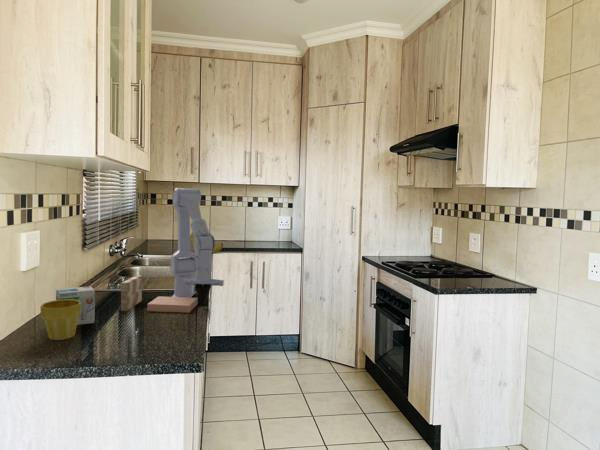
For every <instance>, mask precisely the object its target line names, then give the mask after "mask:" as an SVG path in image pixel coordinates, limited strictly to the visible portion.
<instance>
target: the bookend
mask: <svg viewBox="0 0 600 450" xmlns="http://www.w3.org/2000/svg"><path fill="white" fill-rule="evenodd" d="M120 283H121V284H120V312H127V311H129V310H131V309H133V307H135V306H136V305H138V304H140V303H141V302H143V299H142V298H143V297H142V296H143V276H142V275H140V274H139V275H138V274H137V275H133V277H130V278H128V279H126V280H124V281H122V282H120Z"/></svg>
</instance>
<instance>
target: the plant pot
mask: <svg viewBox="0 0 600 450" xmlns="http://www.w3.org/2000/svg"><path fill="white" fill-rule="evenodd" d="M80 314H81V302H80V301H78V300H72V299H64V300H56V299H55V300H49V301H47V302H44V303H42V304H41V305H40V317H41V319H43V321H44V325H45V328H46V332H47V333H46V334H47V336H48V339H49V340H51V341H62V340H69V339H71V338H74V337H75V334H76V330H77V326H78V325H77V321H78V317H79V315H80Z"/></svg>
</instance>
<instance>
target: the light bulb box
mask: <svg viewBox="0 0 600 450" xmlns="http://www.w3.org/2000/svg"><path fill="white" fill-rule="evenodd" d="M55 290H56V291H55V300H64V299H72V300H78V301H80V302H81V314H80V315H79V317H78V321H77V326H79V325H86V324H87V325H88V324H94V323H95V316H96V315H95V314H96V313H95V311H96V309H95V308H96V304H95V303H96V290H95V289H94V287H92V286H91V285H90V286H80V287H68V288H56V289H55Z"/></svg>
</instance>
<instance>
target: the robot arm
mask: <svg viewBox="0 0 600 450" xmlns="http://www.w3.org/2000/svg"><path fill="white" fill-rule="evenodd" d="M201 200H202V192H201V190H200V189H199V188H181V187H180V188H179V187H176V188H175V189H174V190H173V193H172V207H173V209H174V210H176V212H177V214H176V215H177V251H175V252H174V253H172V255H171V256H170V263H169V268H170V272H171V273H172V274H173V275H174V293H173V295H171V296H170V297H189V298H193V297H192V296H193V295H194V294H195V293H196V294H195V295H197V296H198V298H199V303H200V304H199V305H200V306H206V302H207V298H208V295H209V293H210V290H211V288H212V286H215V287H216V286H217V287H223V286H224V282H225V281H224V279H214V278H212V268H213V267H212V264H213V263H212V260H213V253H212V251H213V250H214V247H215V244H216V241H215V238H214V235H213V234H212V233H211V232H209V228H208V225H207V221H206V220H205V219H204V218H202V213H201V209H200V204H201ZM191 231H192V232H193V236H194V243H193V245H194V247H193V249H194V252H193V251H192V250H191V242H190V235H191V233H192V232H191ZM194 276H195V277H194ZM195 295H194V296H195Z"/></svg>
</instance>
